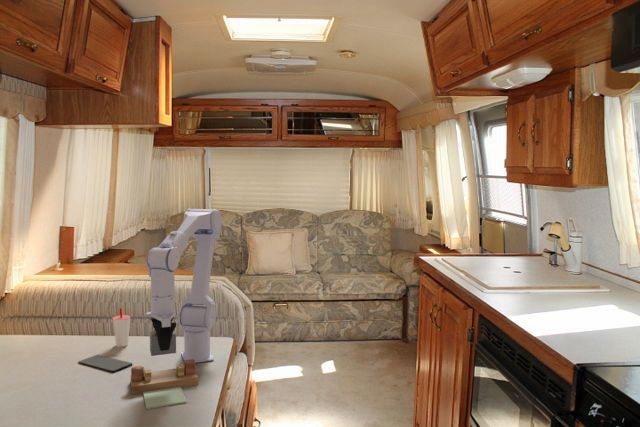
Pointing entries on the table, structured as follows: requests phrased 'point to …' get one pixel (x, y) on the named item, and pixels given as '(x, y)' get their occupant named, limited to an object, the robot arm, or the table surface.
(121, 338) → the cup
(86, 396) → the table surface
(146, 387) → the block sculpture plaque
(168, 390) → the mat
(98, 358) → the smartphone
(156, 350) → the grey block
